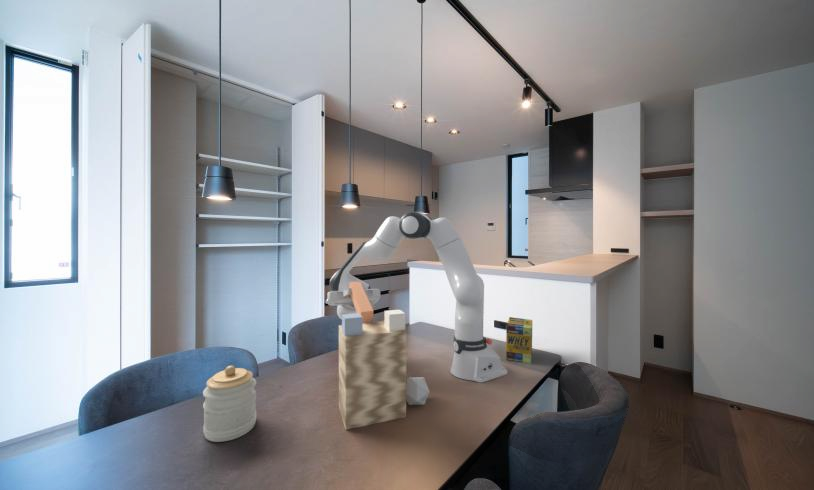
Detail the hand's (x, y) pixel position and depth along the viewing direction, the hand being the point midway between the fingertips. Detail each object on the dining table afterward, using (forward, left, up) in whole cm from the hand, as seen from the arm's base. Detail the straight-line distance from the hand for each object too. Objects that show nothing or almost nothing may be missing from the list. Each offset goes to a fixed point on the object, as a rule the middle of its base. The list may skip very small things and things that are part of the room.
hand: (357, 289), depth 115 cm
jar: (+39, +15, -35) cm, 54 cm away
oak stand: (0, +21, -34) cm, 40 cm away
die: (-15, +21, -35) cm, 43 cm away
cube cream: (-7, +24, -8) cm, 26 cm away
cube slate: (+6, +24, -8) cm, 26 cm away
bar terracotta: (0, +4, -5) cm, 6 cm away
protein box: (-74, 0, -35) cm, 82 cm away
